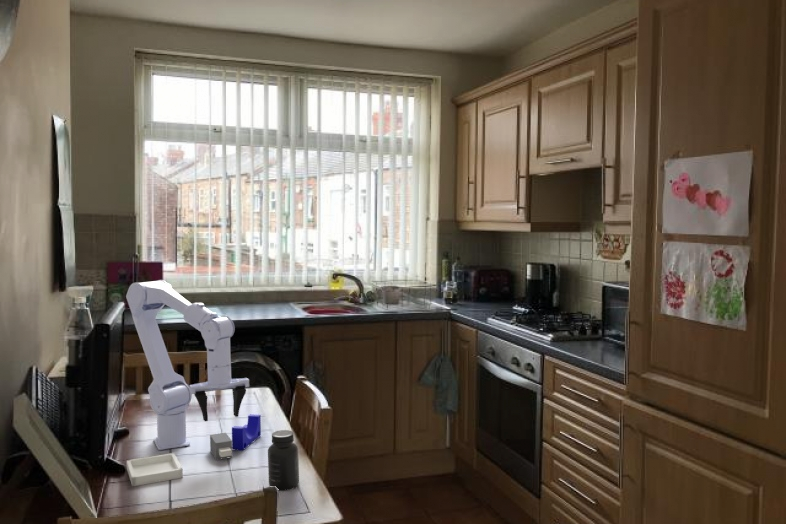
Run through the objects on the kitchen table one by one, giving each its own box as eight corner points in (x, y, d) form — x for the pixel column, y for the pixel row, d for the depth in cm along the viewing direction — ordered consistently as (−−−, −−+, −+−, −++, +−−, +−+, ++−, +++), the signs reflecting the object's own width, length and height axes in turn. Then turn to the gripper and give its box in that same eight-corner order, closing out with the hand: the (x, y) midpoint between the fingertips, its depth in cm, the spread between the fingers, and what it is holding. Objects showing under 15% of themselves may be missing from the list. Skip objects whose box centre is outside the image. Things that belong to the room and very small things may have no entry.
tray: (126, 468, 159) (126, 460, 159) (174, 460, 164) (174, 452, 164) (132, 486, 149) (131, 477, 149) (182, 477, 154) (182, 469, 154)
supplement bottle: (285, 476, 154) (284, 426, 153) (305, 484, 150) (304, 432, 149) (262, 486, 149) (261, 433, 148) (282, 494, 144) (281, 440, 144)
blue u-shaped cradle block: (245, 435, 184) (245, 413, 184) (260, 436, 184) (260, 414, 183) (226, 449, 173) (226, 427, 172) (243, 451, 172) (242, 428, 171)
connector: (210, 451, 171) (210, 434, 171) (225, 449, 173) (225, 432, 173) (218, 463, 163) (217, 446, 163) (234, 460, 165) (234, 443, 164)
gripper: (192, 371, 160) (194, 426, 161) (251, 364, 167) (253, 417, 168) (187, 366, 167) (189, 419, 167) (244, 359, 173) (246, 410, 174)
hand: (220, 418), depth 168 cm, fingers open, 7 cm apart
